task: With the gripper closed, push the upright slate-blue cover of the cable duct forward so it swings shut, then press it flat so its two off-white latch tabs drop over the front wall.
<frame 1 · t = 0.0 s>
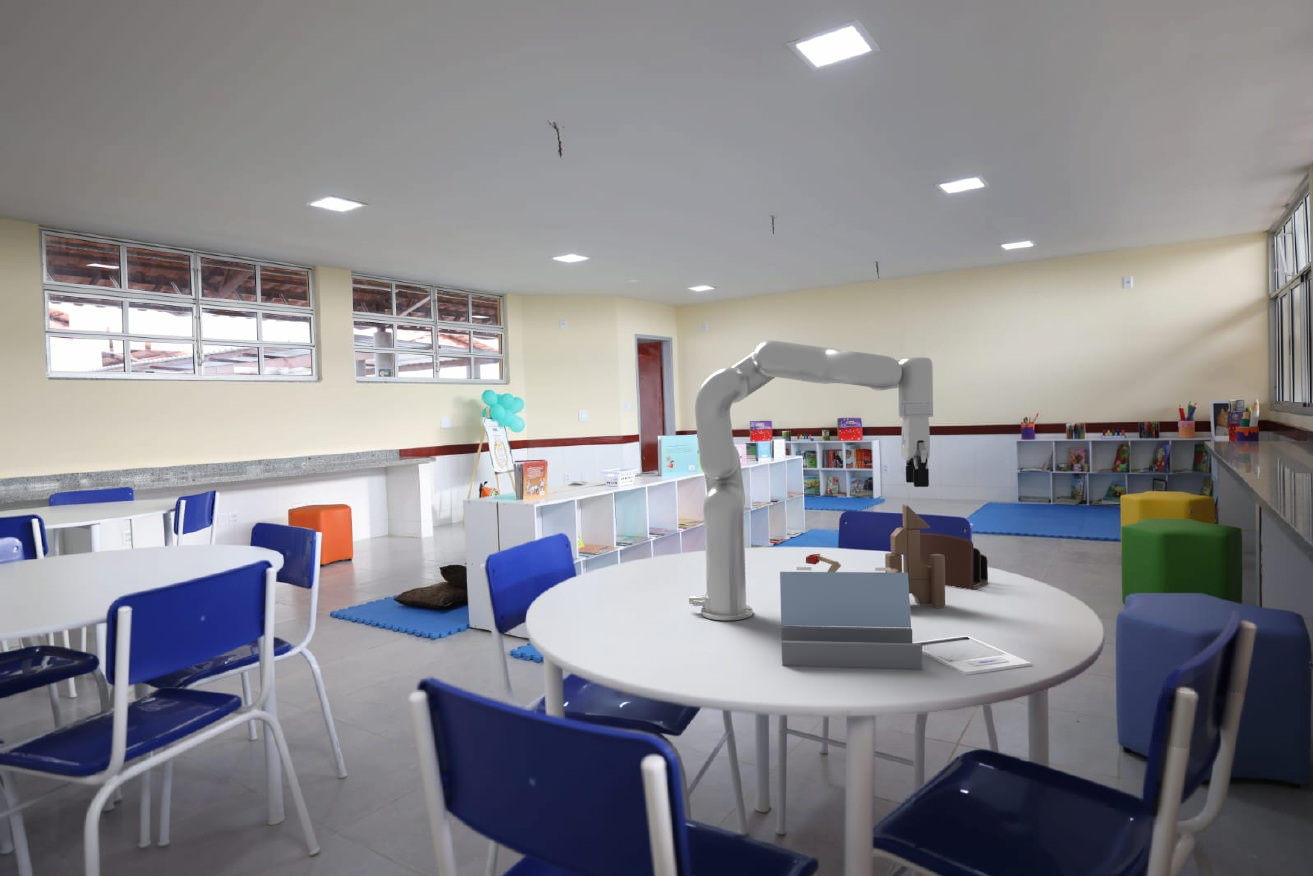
hand: (917, 484, 169), 31 cm above the table, fingers open, 9 cm apart
toy fire truck: (832, 592, 197), on the table
duct cover: (844, 596, 151), point 10 cm above the table, hinge at 104.0°
letter holder: (945, 582, 205), on the table
cable duct: (848, 657, 144), on the table
photo frame: (966, 658, 144), on the table
wooden toy: (911, 606, 180), on the table
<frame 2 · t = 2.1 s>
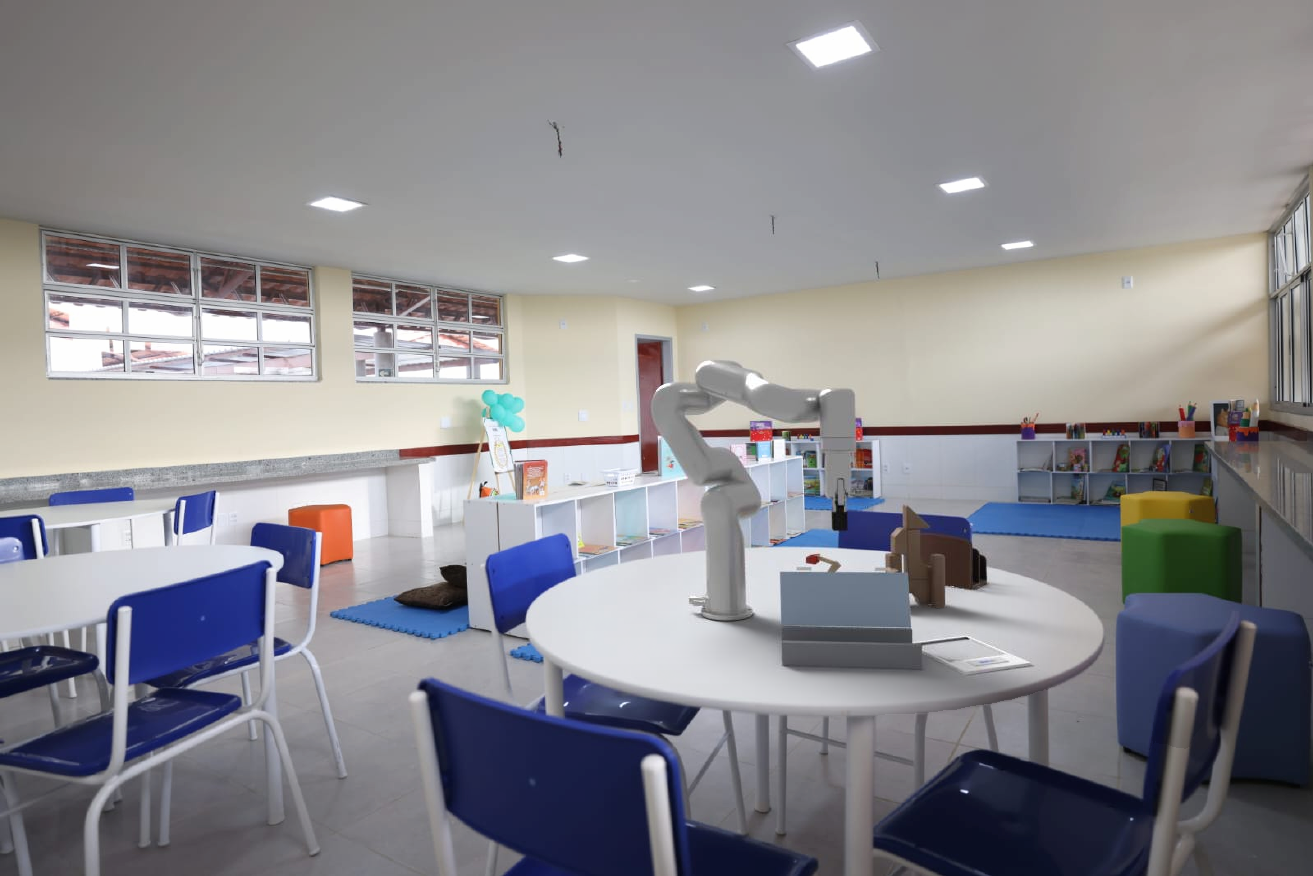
hand: (839, 529, 158), 23 cm above the table, fingers closed
nothing on the table moved.
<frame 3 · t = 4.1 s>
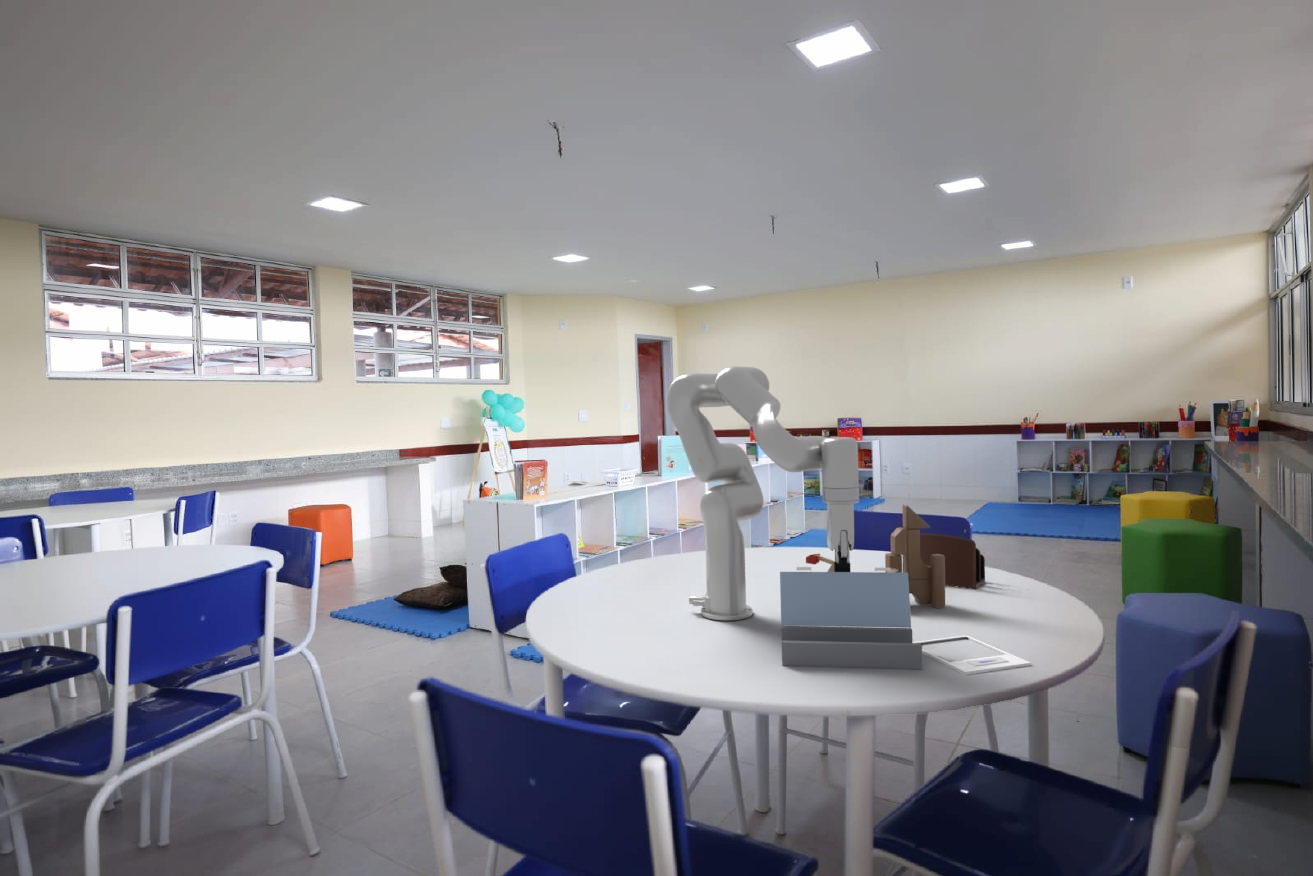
hand: (842, 581, 155), 13 cm above the table, fingers closed
duct cover: (844, 596, 151), point 10 cm above the table, hinge at 103.6°, touching gripper
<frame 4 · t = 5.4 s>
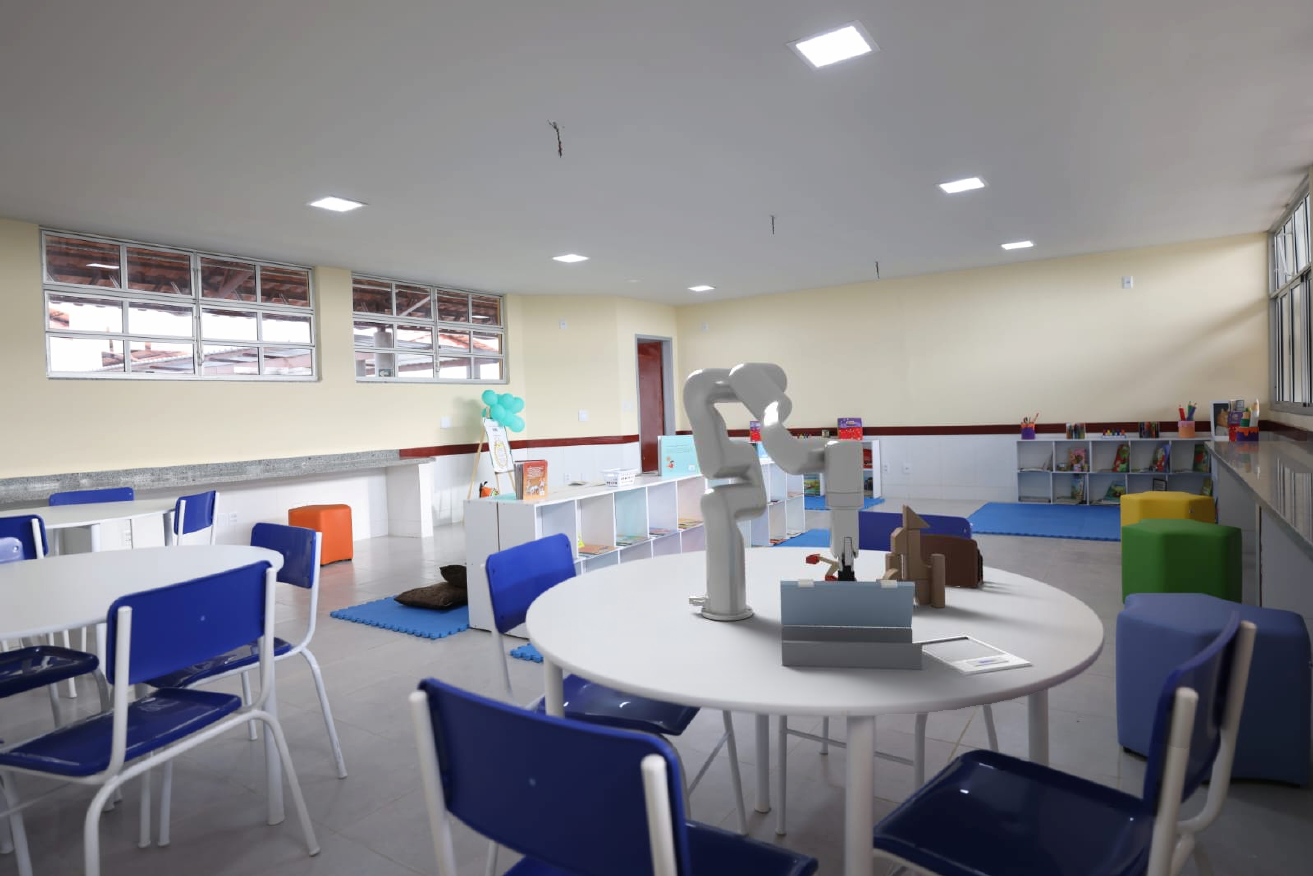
hand: (846, 590, 148), 13 cm above the table, fingers closed
duct cover: (846, 604, 147), point 10 cm above the table, hinge at 62.6°, touching gripper
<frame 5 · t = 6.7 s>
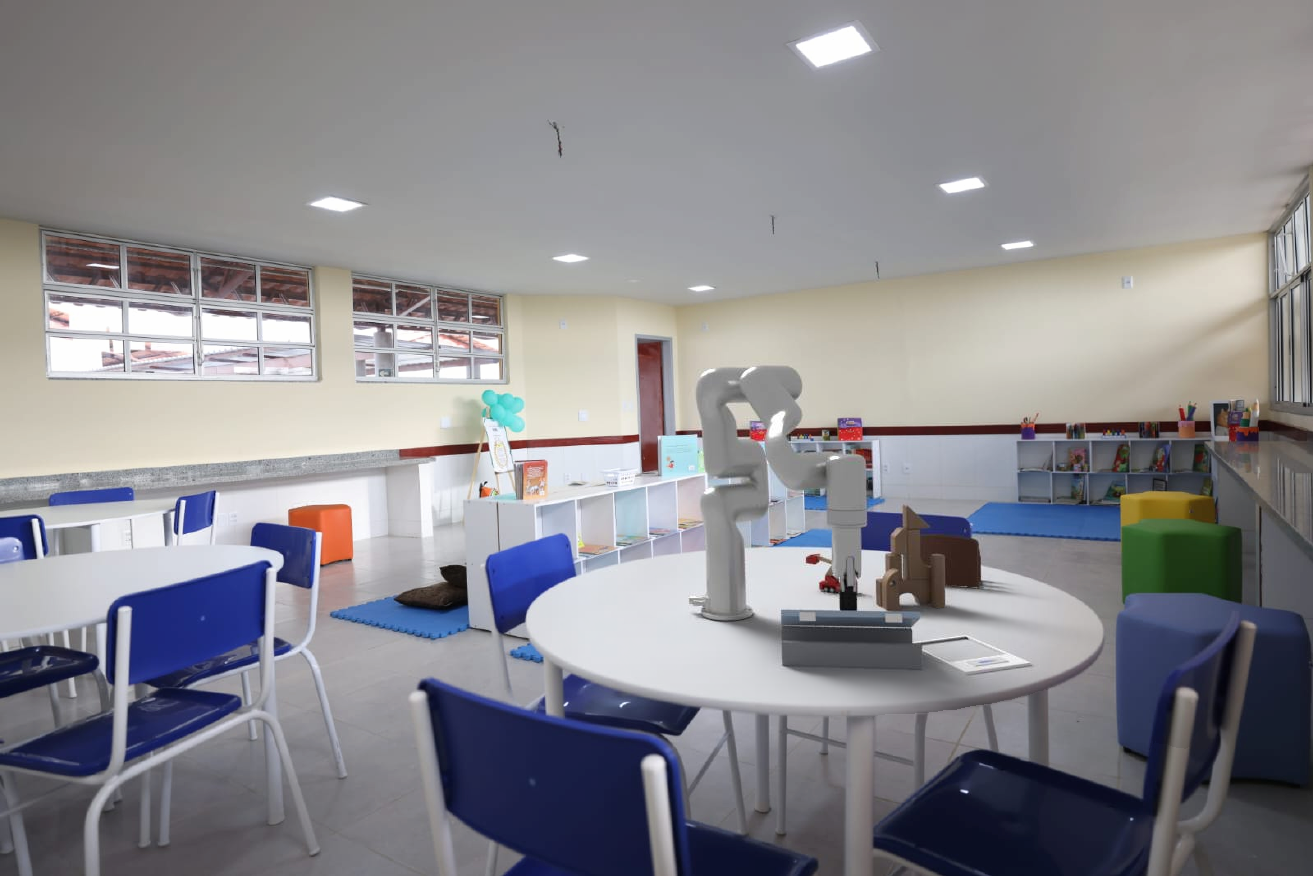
hand: (848, 610, 142), 10 cm above the table, fingers closed
duct cover: (847, 621, 144), point 7 cm above the table, hinge at 25.8°, touching gripper
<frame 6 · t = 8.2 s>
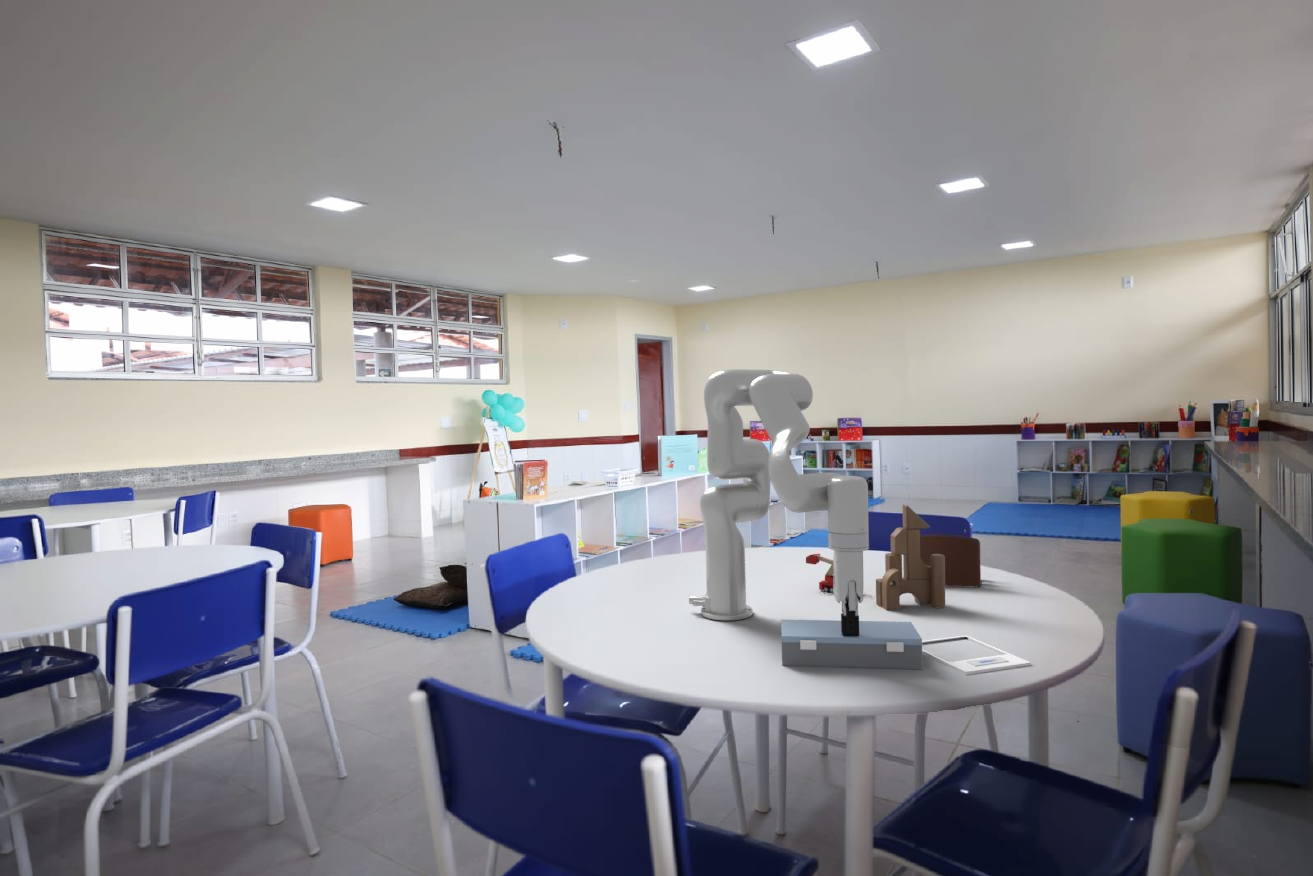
hand: (850, 634, 140), 6 cm above the table, fingers closed
duct cover: (848, 635, 144), point 5 cm above the table, hinge at -0.3°, touching gripper
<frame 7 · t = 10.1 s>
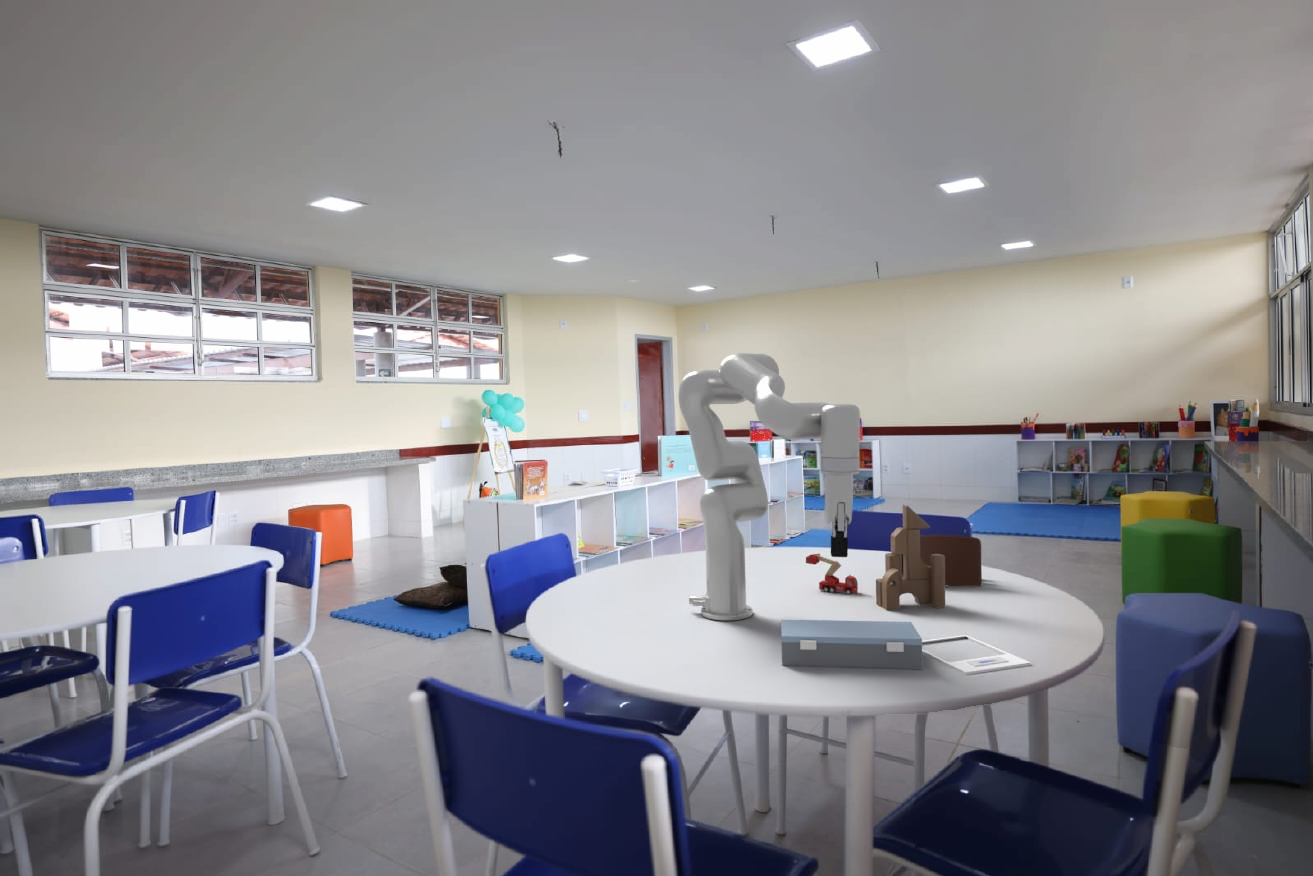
hand: (839, 556, 147), 20 cm above the table, fingers closed
duct cover: (848, 635, 144), point 5 cm above the table, hinge at -0.3°
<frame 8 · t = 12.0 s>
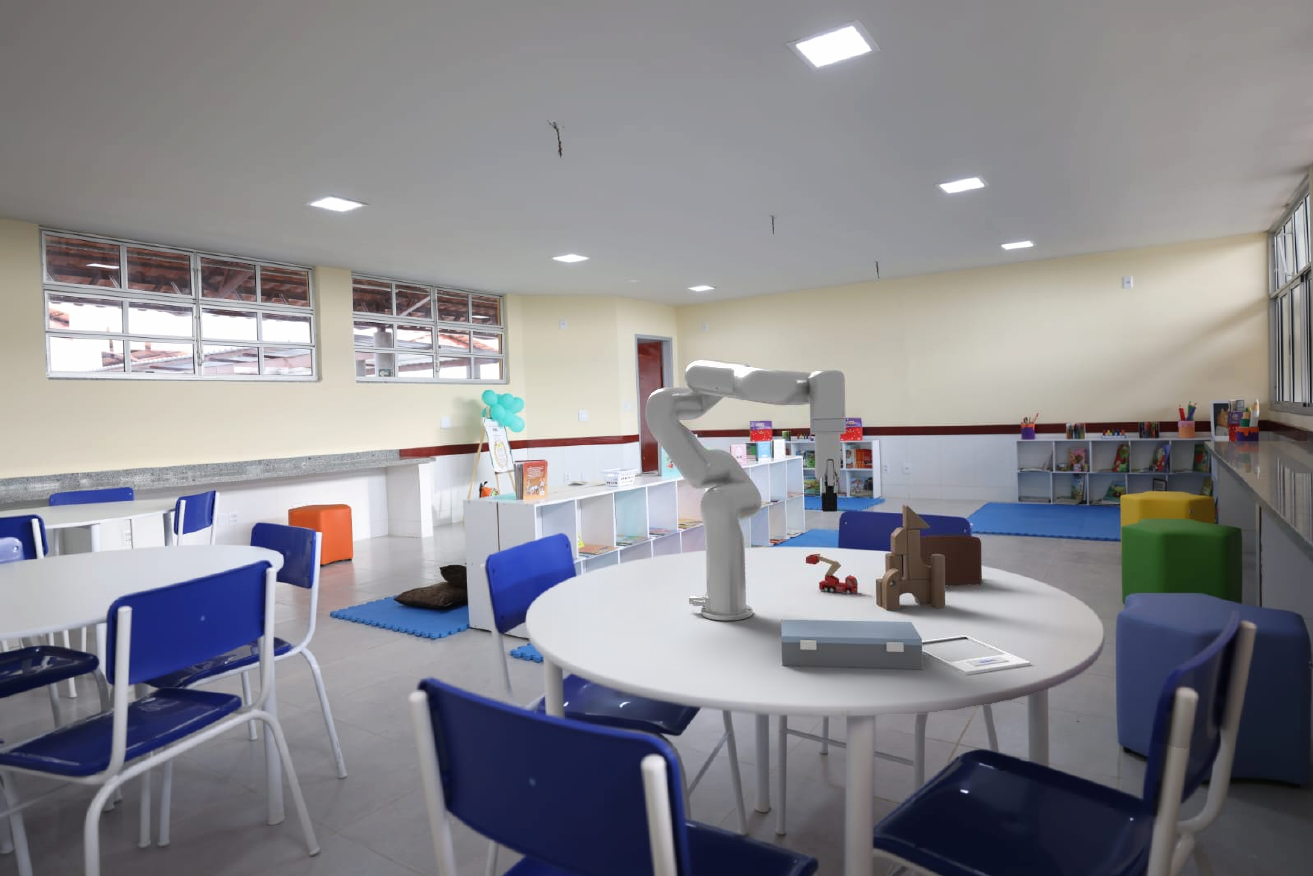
hand: (829, 511, 159), 27 cm above the table, fingers closed
at the end: duct cover at +0° (first picture: +104°) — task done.
